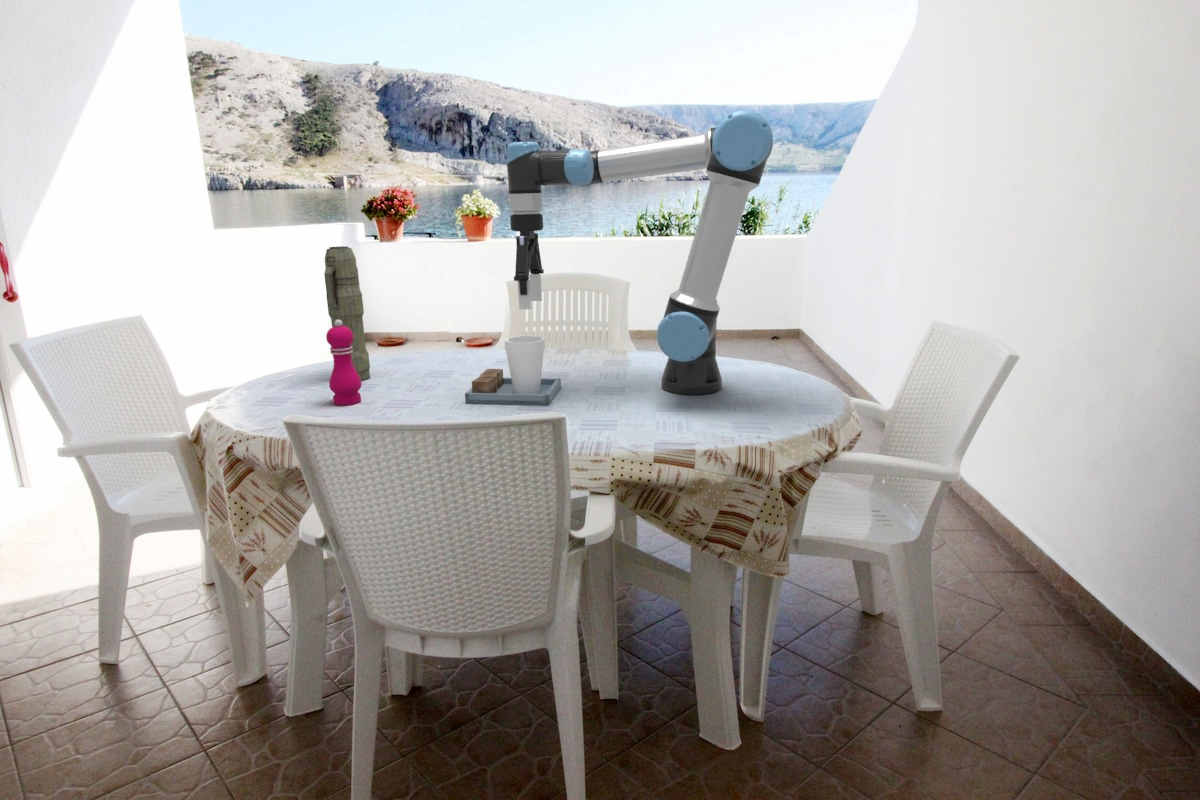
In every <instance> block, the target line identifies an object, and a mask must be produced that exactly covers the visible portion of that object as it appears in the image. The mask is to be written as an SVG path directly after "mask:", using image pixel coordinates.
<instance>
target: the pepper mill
mask: <svg viewBox="0 0 1200 800" xmlns="http://www.w3.org/2000/svg"><path fill="white" fill-rule="evenodd" d="M334 324H335V327H332V326H331V327H330V328H329V329H328V330H327V333H326V339H325V340H326V341H327V344H328V345H330V346H331V347H330V348H329V350H330V354H331V355H332V358H333V368H332V372H331V375H330V378H329V381H328V383H329V384H328V385H329V386H328V387H329V389H330V390H331V392H333V393H334V395H333V396H332V400H333V404H334V405H336V406H343V407H344V406H352V405H356V404H359V403H360V402H361V401H362V396H361V395H362V394H361V393H360V392H359V391H360V389H361V387H362V381H361V380H360V377H359V375H358V373H357V372H356V370H355V368H354V367H353V364H352V360H351V353H352V352H353V350H352V346H351V343H352V342H353V339H354V337H353V333H352V331H351V330H350V329H349V328H348V327H345V326H342V321H341V320H336V321H335V322H334Z"/></svg>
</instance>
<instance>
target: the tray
mask: <svg viewBox="0 0 1200 800" xmlns="http://www.w3.org/2000/svg"><path fill="white" fill-rule="evenodd" d="M503 383H504V384H503V385H502V386H501V387H500V388H498V390H497V392H496V393H472V387H471V388H470V389H469V390H468V391H467V392H465V393H464V399H465V404H466V405H467V404H469V405H471V404H472V405H473V404H475V405H508V406H511V405H512V406H513V405H516V406H550V404H551V403H552V402H553V400H554V398H555V397H556V395H557V394H558V392H559V391H560V390H561V387H562V385H561V378H553V377H551V378H548V377H546V378H544V377H541V385H540V392H539V393H536V394H515V393H514V390H513V385H512V379H511V377H503Z"/></svg>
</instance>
